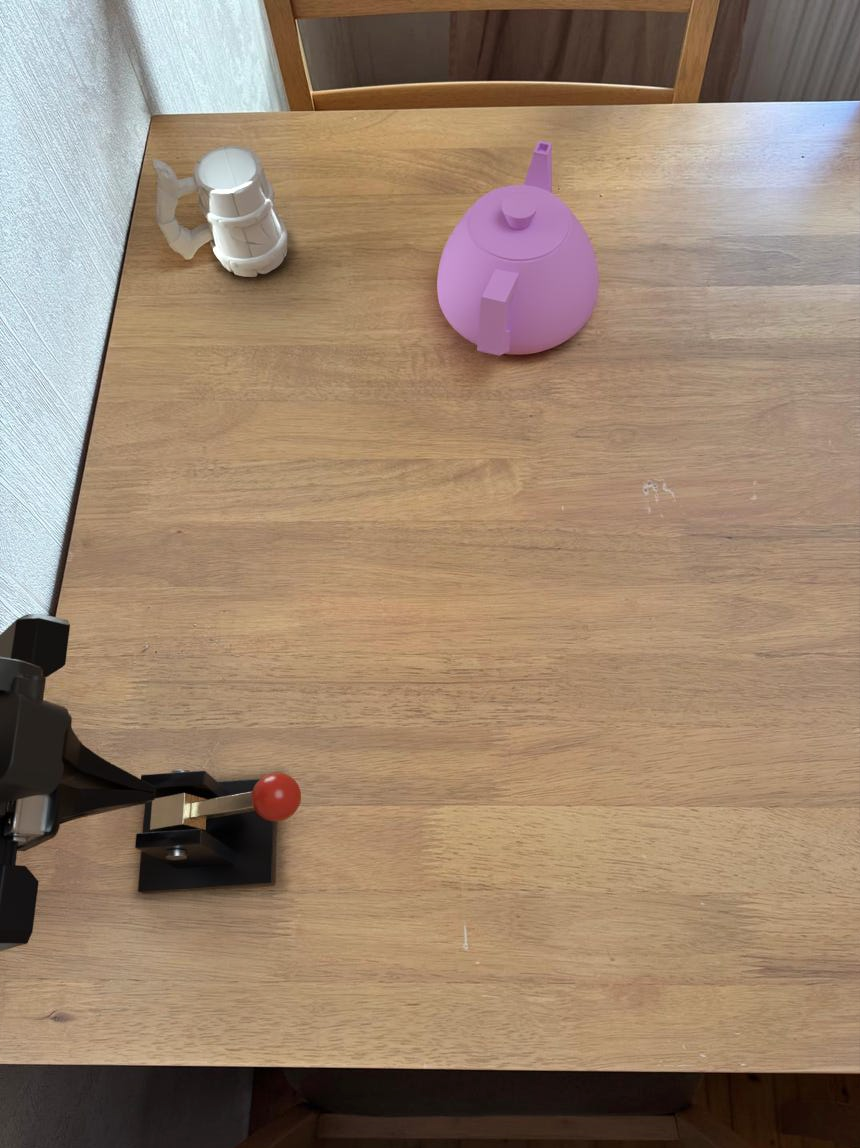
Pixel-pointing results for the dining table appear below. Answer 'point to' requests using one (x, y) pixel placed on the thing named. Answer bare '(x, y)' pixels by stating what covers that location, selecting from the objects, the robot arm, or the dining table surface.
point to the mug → (225, 211)
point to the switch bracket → (206, 841)
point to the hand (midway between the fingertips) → (152, 795)
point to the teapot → (519, 268)
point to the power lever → (227, 805)
